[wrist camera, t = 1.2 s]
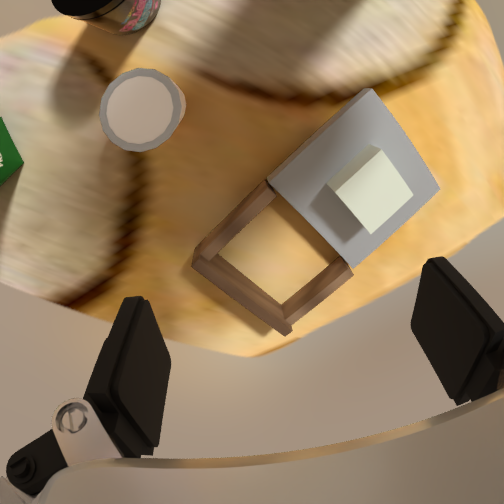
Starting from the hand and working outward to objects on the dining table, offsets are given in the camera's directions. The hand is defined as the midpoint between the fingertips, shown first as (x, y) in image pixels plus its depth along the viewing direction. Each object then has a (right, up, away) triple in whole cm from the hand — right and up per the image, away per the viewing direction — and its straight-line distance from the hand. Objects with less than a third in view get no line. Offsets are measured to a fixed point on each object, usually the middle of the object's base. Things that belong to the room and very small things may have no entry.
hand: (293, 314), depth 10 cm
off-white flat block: (+10, +9, +21) cm, 25 cm away
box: (+1, +2, +26) cm, 26 cm away
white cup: (-11, +16, +18) cm, 26 cm away
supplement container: (-13, +26, +12) cm, 32 cm away
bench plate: (+10, +10, +22) cm, 26 cm away
